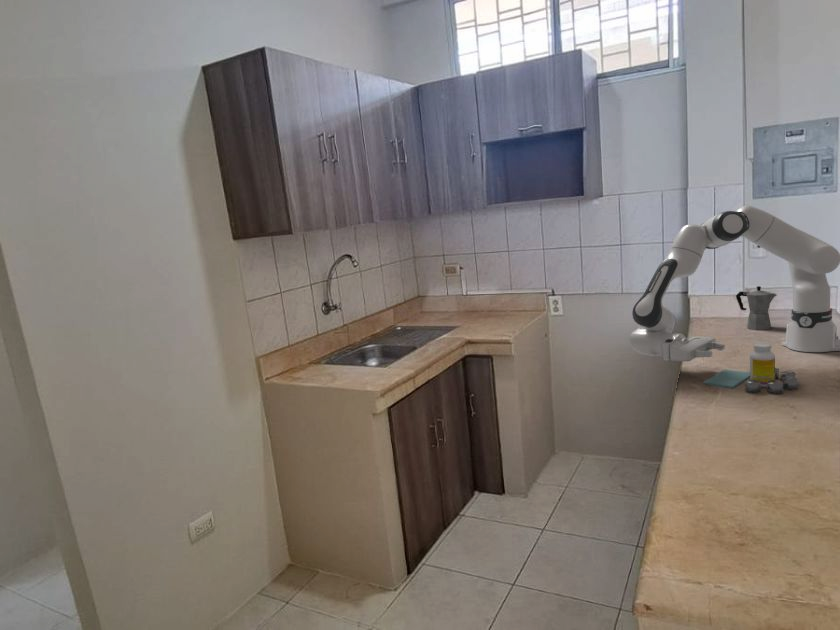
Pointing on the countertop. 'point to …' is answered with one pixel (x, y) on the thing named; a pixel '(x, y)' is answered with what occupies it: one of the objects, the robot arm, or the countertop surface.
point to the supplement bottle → (762, 364)
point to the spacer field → (774, 383)
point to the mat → (728, 378)
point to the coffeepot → (757, 308)
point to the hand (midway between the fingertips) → (717, 351)
